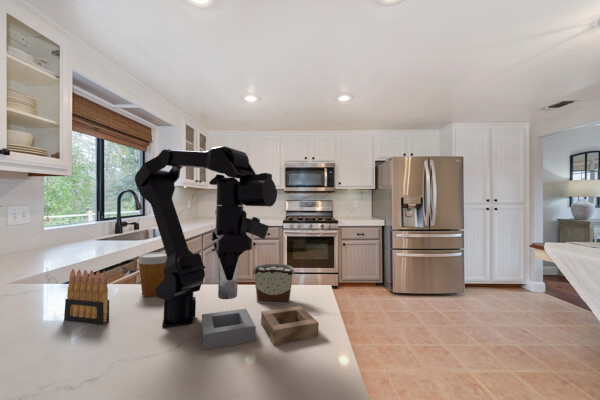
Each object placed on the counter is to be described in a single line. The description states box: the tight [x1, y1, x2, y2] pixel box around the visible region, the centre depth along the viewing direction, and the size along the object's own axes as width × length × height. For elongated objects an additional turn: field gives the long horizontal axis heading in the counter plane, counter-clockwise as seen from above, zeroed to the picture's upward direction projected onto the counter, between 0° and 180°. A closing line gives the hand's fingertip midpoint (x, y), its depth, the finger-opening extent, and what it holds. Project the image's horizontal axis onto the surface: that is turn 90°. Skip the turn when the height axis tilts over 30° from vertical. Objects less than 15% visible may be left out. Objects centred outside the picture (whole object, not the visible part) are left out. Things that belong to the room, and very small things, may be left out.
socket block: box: [201, 308, 256, 351], centre depth 57 cm, size 10×10×3 cm
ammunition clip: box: [63, 268, 110, 326], centre depth 62 cm, size 11×2×12 cm, turn 80°
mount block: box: [260, 305, 320, 346], centre depth 59 cm, size 10×10×3 cm
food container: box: [252, 263, 296, 305], centre depth 79 cm, size 12×6×10 cm, turn 84°
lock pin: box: [217, 259, 239, 300], centre depth 57 cm, size 4×4×9 cm
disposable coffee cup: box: [137, 251, 167, 297], centre depth 82 cm, size 10×10×12 cm
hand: (228, 277), depth 57 cm, fingers closed on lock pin, 4 cm apart
